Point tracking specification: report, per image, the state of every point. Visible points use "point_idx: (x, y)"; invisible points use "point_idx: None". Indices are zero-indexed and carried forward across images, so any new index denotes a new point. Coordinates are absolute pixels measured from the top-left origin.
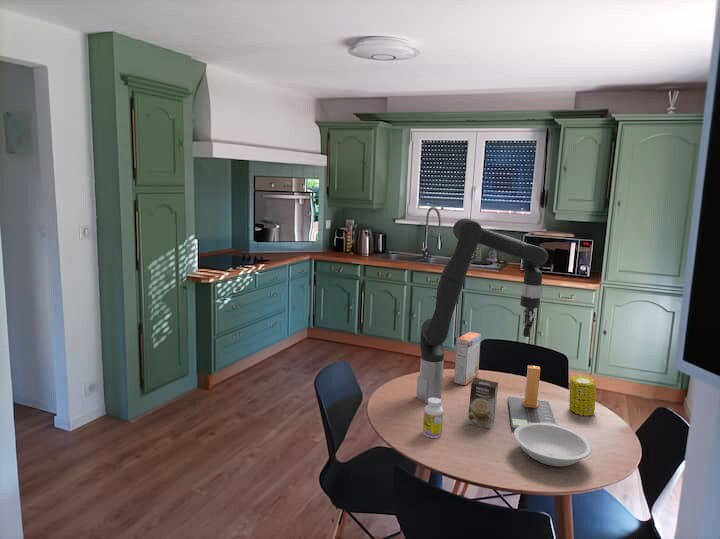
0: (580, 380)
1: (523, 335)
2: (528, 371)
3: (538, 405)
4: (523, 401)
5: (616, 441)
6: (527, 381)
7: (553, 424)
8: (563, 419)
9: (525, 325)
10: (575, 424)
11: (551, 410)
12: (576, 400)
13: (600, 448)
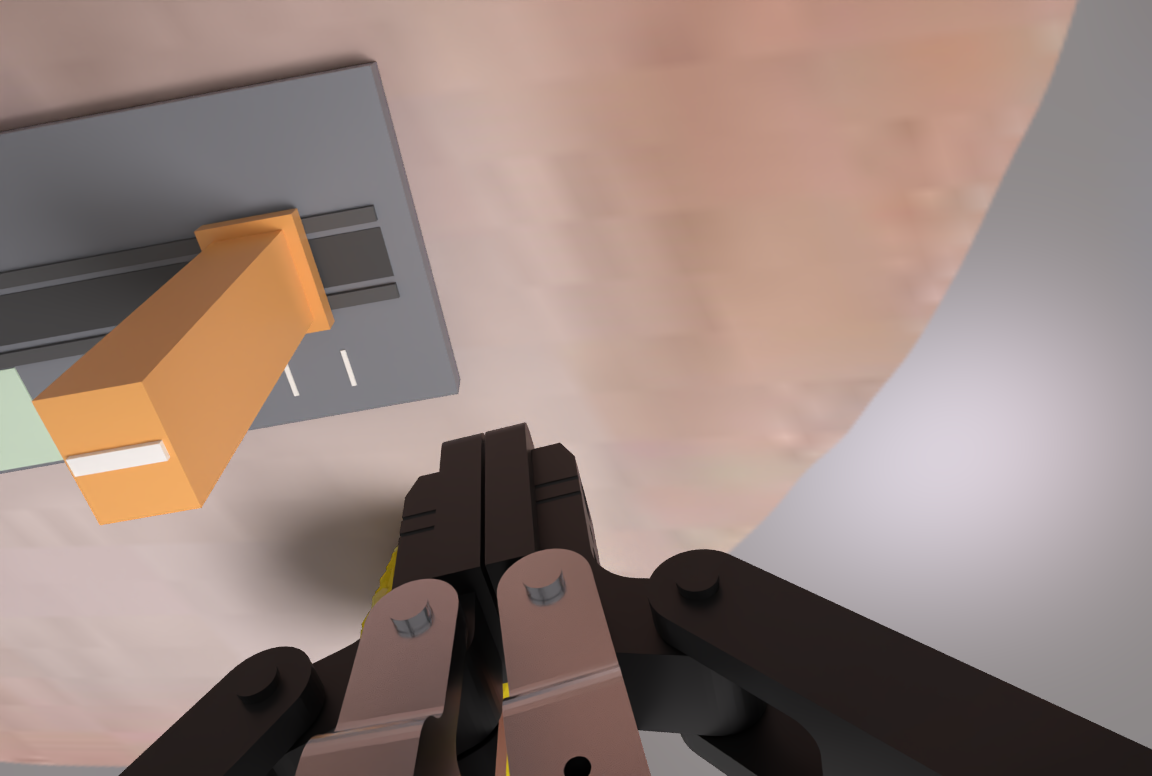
0: None
1: (460, 439)
2: (57, 381)
3: (329, 331)
4: (253, 225)
5: (160, 708)
6: (118, 326)
7: (47, 446)
8: (269, 478)
9: (235, 705)
10: (239, 540)
11: (293, 420)
12: (373, 605)
13: (4, 651)
